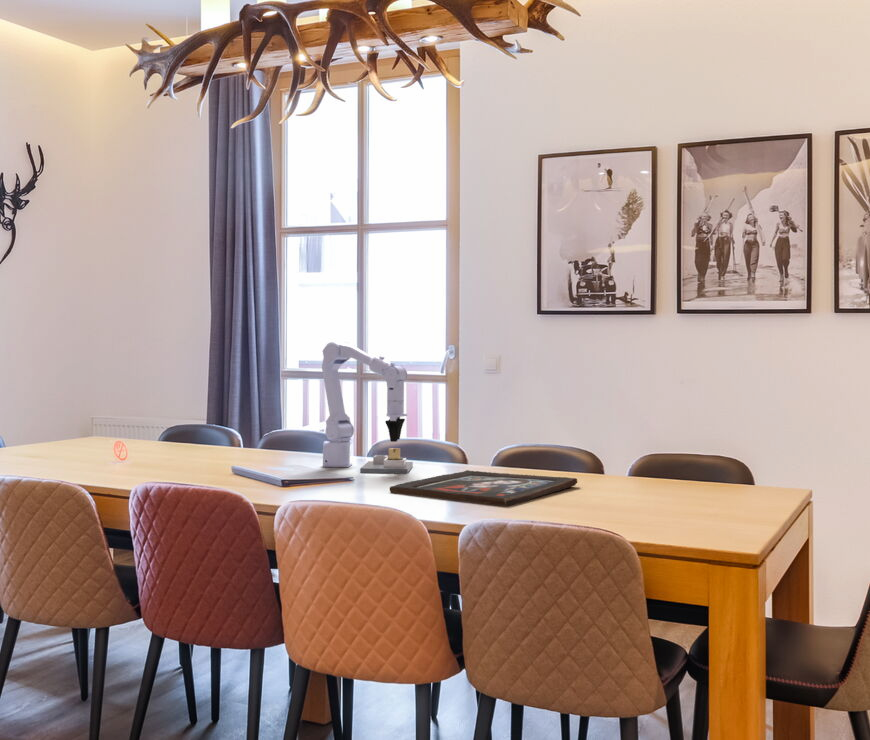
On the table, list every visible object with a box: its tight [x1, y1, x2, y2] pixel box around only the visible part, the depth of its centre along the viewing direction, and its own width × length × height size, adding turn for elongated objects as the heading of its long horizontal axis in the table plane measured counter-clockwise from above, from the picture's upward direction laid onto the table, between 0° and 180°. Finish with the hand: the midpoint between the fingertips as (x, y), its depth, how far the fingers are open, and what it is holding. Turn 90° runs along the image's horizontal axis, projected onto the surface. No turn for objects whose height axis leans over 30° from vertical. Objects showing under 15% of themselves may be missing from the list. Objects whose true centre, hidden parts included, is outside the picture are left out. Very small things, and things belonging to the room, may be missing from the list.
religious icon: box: [389, 470, 578, 507], centre depth 259 cm, size 40×45×3 cm
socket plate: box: [359, 454, 414, 475], centre depth 303 cm, size 16×20×4 cm
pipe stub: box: [388, 447, 401, 460], centre depth 300 cm, size 4×4×6 cm
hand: (395, 440), depth 300 cm, fingers open, 7 cm apart
